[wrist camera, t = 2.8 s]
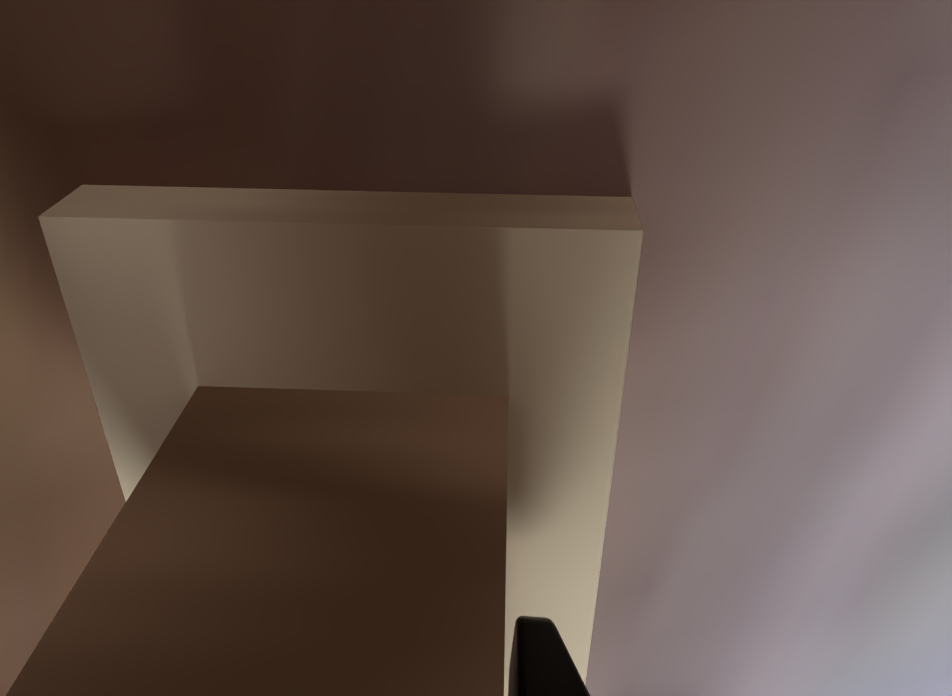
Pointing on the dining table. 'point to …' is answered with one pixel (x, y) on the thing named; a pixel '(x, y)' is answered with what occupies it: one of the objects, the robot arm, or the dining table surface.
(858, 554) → the dining table surface
